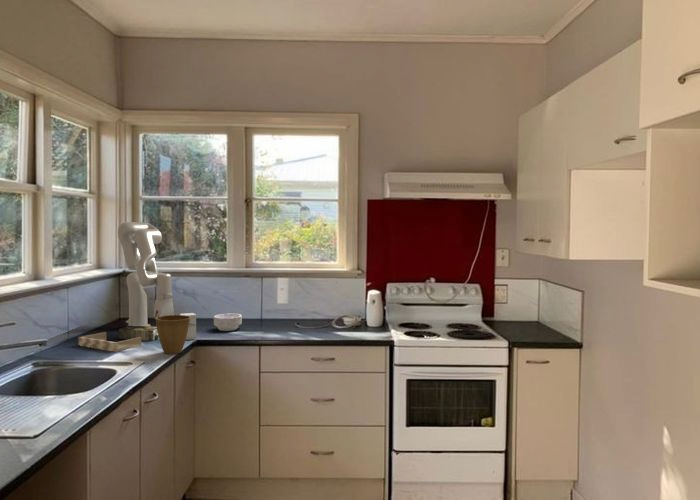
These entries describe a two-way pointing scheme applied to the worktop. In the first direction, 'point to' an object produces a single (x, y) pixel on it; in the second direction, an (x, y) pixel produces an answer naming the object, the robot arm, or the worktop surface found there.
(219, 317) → the paper bowls
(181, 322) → the plant pot
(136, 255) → the robot arm
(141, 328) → the juice carton
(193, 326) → the supplement box
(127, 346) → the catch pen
